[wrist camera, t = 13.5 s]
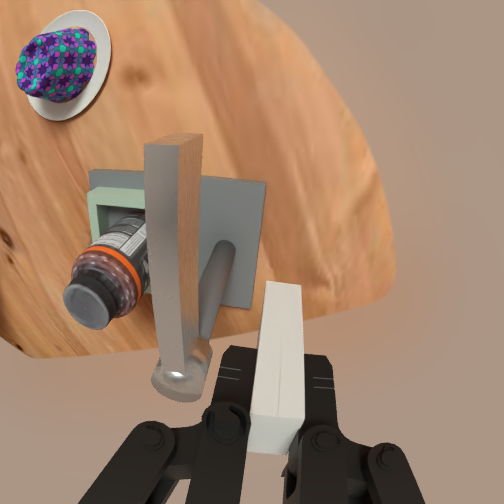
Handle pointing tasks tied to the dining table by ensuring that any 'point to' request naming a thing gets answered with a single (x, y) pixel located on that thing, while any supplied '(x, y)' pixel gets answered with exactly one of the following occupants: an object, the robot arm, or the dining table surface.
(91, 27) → the pudding
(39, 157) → the dining table surface
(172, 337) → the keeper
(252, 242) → the socket base
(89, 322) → the supplement bottle
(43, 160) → the dining table surface
